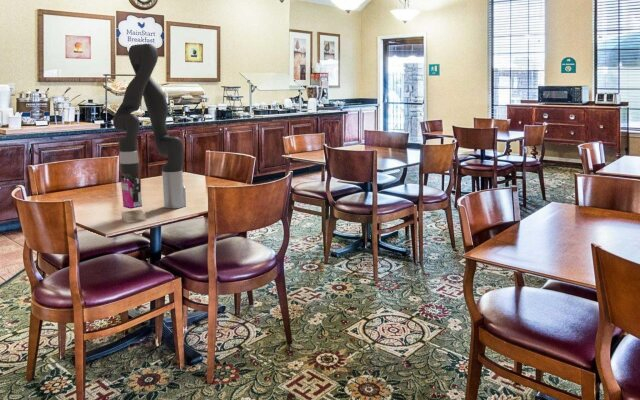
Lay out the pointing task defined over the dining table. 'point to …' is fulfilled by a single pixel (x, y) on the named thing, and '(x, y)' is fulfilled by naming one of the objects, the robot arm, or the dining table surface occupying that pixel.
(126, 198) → the supplement box
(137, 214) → the maple block
